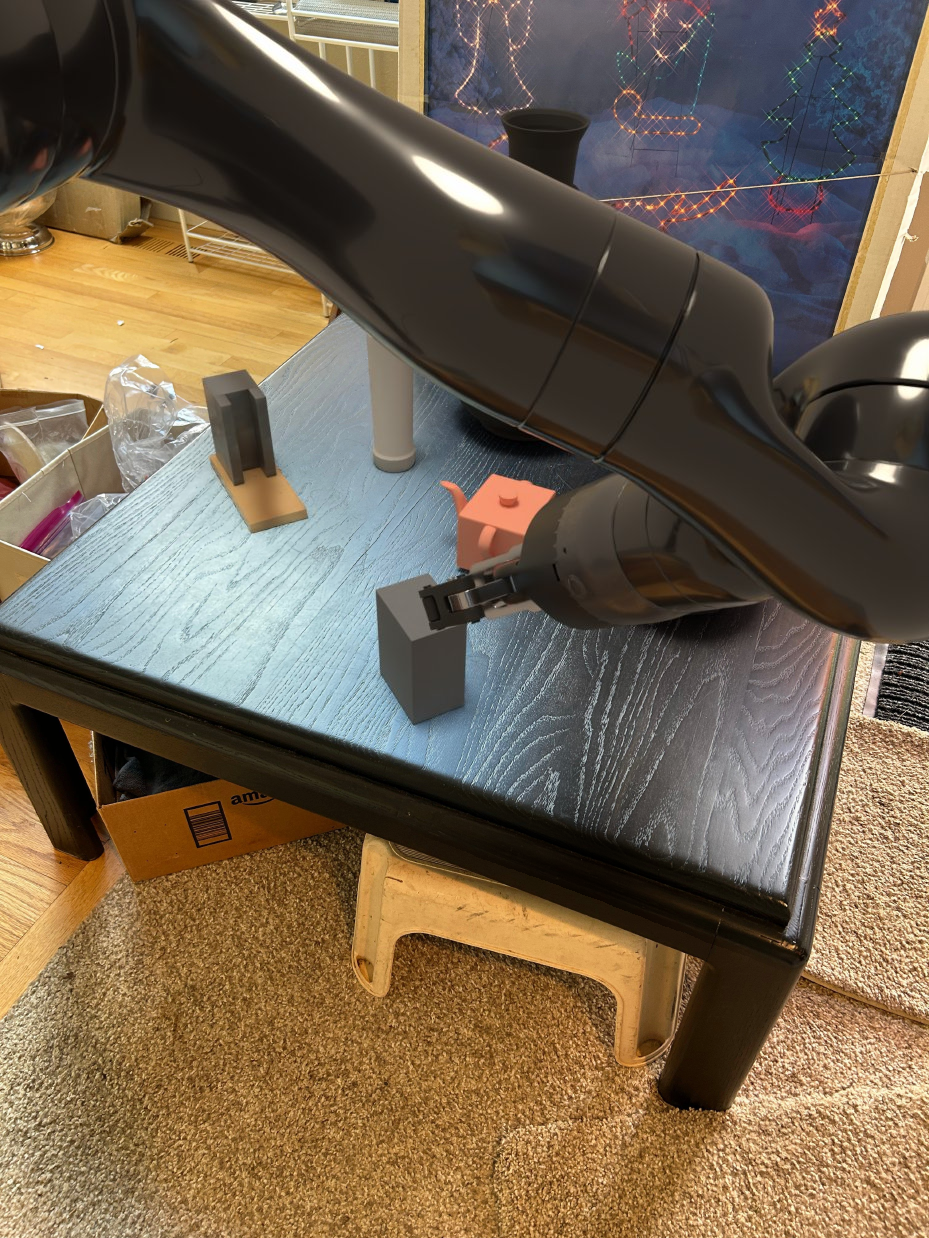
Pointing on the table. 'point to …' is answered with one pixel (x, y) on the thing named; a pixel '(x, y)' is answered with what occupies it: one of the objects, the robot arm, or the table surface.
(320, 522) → the table surface
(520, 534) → the teapot
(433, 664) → the grey rectangular block
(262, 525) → the stand
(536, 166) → the vase
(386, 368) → the bottle
